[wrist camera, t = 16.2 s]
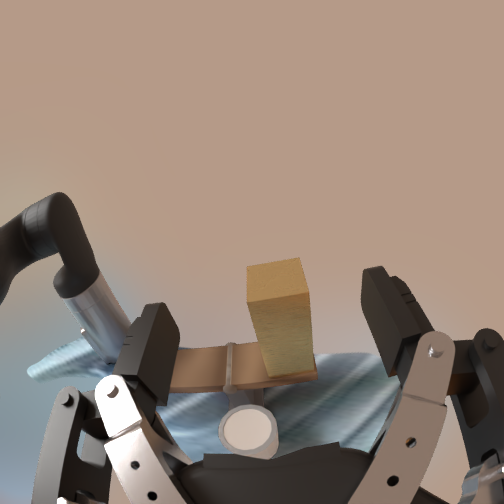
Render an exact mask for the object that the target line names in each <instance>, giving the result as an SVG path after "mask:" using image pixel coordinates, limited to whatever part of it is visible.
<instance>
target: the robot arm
mask: <svg viewBox="0 0 504 504" xmlns="http://www.w3.org/2000/svg"><path fill="white" fill-rule="evenodd" d="M58 252H59V254H60V256H61V258H62V261H63V263H64V266H63V267H62V268H61V269H60V270H59V271H58V273H57V274H56V276H55V278H54V281H53V284H54V287H55V289H56V291H57V293H58V294H59V296H60V297H61V299H62V300H63V301H64V303H65V305H66V306H67V308H68V309H69V311H70V312H71V313H72V315H73V317H74V318H75V319H76V321H77V322H78V323H79V325H80V326H81V334H82V335H83V336H84V338H85V339H86V340H87V342H88V343H89V344H90V345H91V347H92V348H93V349H94V350H95V351H96V353H97V354H98V355H99V356H100V357H101V359H102V360H103V361H104V362H105V363H106V364H108V363H116V365H115V367H114V370H113V373H112V375H110V376H107V377H105V378H104V379H102V380H101V382H100V383H99V384H98V386H97V388H96V390H92V391H87V392H84V393H81V392H80V391H78V390H77V389H76V388H75V387H73V386H68V387H65V388H63V389H62V390H61V391H60V392H59V393H58V395H57V397H56V400H55V402H54V405H53V408H52V412H51V415H50V418H49V421H48V425H47V428H46V432H45V436H44V439H43V443H42V447H41V451H40V456H39V460H38V466H37V470H36V476H35V481H34V487H33V494H32V502H31V504H108V501H109V489H110V481H111V472H112V466H113V468H114V470H115V472H116V474H117V477H118V479H119V481H120V483H121V485H122V487H123V489H124V491H125V493H126V495H127V497H128V499H129V500H130V502H131V504H449V503H447V502H446V501H444V500H442V499H440V498H438V497H437V496H435V495H433V494H432V493H430V492H428V491H427V490H425V489H423V488H421V487H420V486H419V485H420V483H421V481H422V479H423V477H424V475H425V472H426V470H427V468H428V466H429V463H430V460H431V458H432V455H433V453H434V450H435V448H436V445H437V442H438V439H439V436H440V434H441V430H442V427H443V424H444V421H445V417H446V413H447V406H446V405H445V398H446V396H448V395H450V397H451V400H452V403H453V406H454V409H455V412H456V415H457V419H458V422H459V425H460V429H461V432H462V436H463V440H464V443H465V448H466V452H467V456H468V461H469V465H470V470H469V472H468V473H467V475H466V476H465V478H464V481H463V484H462V491H463V492H462V496H461V499H460V502H459V503H458V504H504V340H503V339H502V337H501V336H500V335H499V333H497V332H496V331H494V330H492V329H488V328H485V329H481V330H479V331H478V332H477V333H476V335H475V337H474V339H473V340H460V341H452V339H451V338H450V337H449V336H448V335H446V334H444V333H442V332H438V331H435V330H434V329H433V327H432V326H431V323H430V322H429V320H428V318H427V317H426V315H425V313H424V312H423V310H422V308H421V307H420V305H419V303H418V302H416V299H415V297H414V296H413V294H411V291H410V289H409V288H408V286H407V285H406V283H405V282H404V281H402V280H401V279H399V278H398V277H397V276H392V277H389V275H388V274H387V272H386V270H385V269H384V267H382V266H378V267H372V268H367V269H364V270H363V276H362V290H361V306H362V310H363V313H364V316H365V318H366V320H367V323H368V325H369V328H370V330H371V333H372V335H373V338H374V340H375V343H376V345H377V348H378V350H379V353H380V356H381V359H382V361H383V364H384V367H385V369H386V372H387V375H388V377H391V376H395V375H398V378H399V381H400V386H399V388H398V391H397V394H396V396H395V399H394V401H393V403H392V406H391V408H390V411H389V413H388V415H387V417H386V420H385V422H384V424H383V426H382V428H381V430H380V432H379V433H378V435H377V437H376V439H375V441H374V443H373V445H372V447H371V449H370V450H369V452H368V453H367V452H364V451H362V450H357V449H353V448H340V445H339V442H335V443H330V444H325V445H319V446H313V447H307V448H303V449H301V450H298V451H295V452H292V453H290V454H287V455H284V456H281V457H278V458H275V459H270V460H268V459H261V458H255V457H249V456H244V455H239V454H204V458H203V460H201V461H198V462H195V463H193V462H192V461H191V460H190V459H189V457H188V456H187V455H186V454H185V453H184V452H183V451H182V450H181V449H180V448H179V446H178V445H177V443H176V442H175V440H174V439H173V437H172V436H171V434H170V432H169V431H168V429H167V427H166V426H165V424H164V422H163V421H162V419H161V417H160V415H159V414H158V413H157V412H156V411H155V410H156V406H167V401H168V395H169V390H170V385H171V380H172V375H173V370H174V365H175V361H176V356H177V351H178V347H179V342H180V333H179V329H178V327H177V325H176V323H175V321H174V319H173V317H172V316H171V314H170V312H169V310H168V308H167V306H166V304H165V303H163V302H161V303H153V304H147V305H145V307H144V309H143V312H142V314H141V317H137V318H136V320H135V321H134V322H133V323H132V324H131V322H130V321H129V319H128V317H127V316H126V314H125V313H124V311H123V310H122V308H121V306H120V305H119V303H118V301H117V300H116V298H115V297H114V295H113V293H112V291H111V289H110V288H109V286H108V284H107V282H106V281H105V279H104V277H103V275H102V274H101V272H100V270H99V268H98V266H97V264H96V261H95V257H94V254H93V250H92V248H91V245H90V243H89V241H88V239H87V237H86V234H85V231H84V229H83V226H82V223H81V221H80V218H79V215H78V213H77V210H76V208H75V206H74V204H73V203H72V201H71V200H70V198H69V197H68V196H67V195H66V194H64V193H62V192H57V193H54V194H52V195H49V196H48V197H45V198H44V199H42V200H40V201H38V202H36V203H34V204H33V205H31V206H29V207H28V208H26V209H25V210H24V211H22V212H21V213H20V214H19V215H17V216H16V217H14V218H13V219H12V220H11V221H9V222H8V223H6V224H5V225H3V226H2V227H0V305H1V303H2V302H3V300H4V298H5V296H6V295H7V292H8V290H9V287H10V284H11V282H12V280H13V278H14V277H15V275H16V274H18V273H19V272H20V271H21V270H23V269H24V268H25V267H27V266H29V265H30V264H32V263H34V262H36V261H38V260H40V259H43V258H46V257H48V256H51V255H53V254H56V253H58ZM81 430H83V431H84V432H86V435H85V440H84V445H83V450H82V455H81V459H80V458H79V457H78V455H77V446H78V441H79V437H80V432H81Z"/></svg>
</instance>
